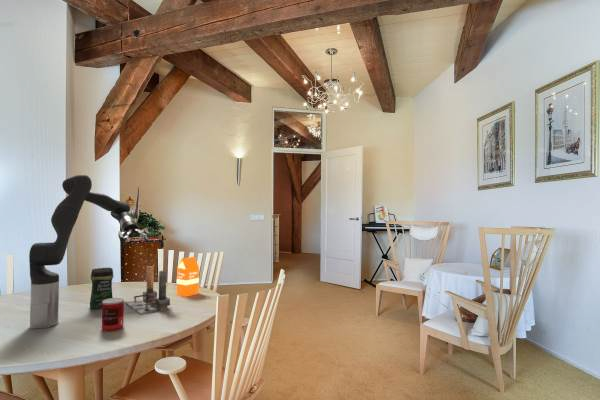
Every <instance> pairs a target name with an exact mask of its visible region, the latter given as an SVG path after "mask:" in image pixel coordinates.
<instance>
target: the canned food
mask: <svg viewBox="0 0 600 400" xmlns="http://www.w3.org/2000/svg"><path fill="white" fill-rule="evenodd" d="M124 301H125V300H124V298H121V297H113V298H110V299H106V300H103V301H102V308H101V330H102V331H103V332H115V331H119V330H121V329H122V328H123V327H124V323H125V322H124V318H125V317H124V316H125V313H124V311H125V310H124V309H125V303H124Z"/></svg>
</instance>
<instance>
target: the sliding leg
mask: <svg viewBox="0 0 600 400" xmlns="http://www.w3.org/2000/svg"><path fill="white" fill-rule="evenodd" d="M154 268H155V267H154V266H153V265H148V266H147V265H146V291H142V294H139V295H134V296H133V300H134V302H136V299H137V298H140V297H142V299H143V298H144V299H145V300H148V298H149V297H155V298H158V292H157V291H156V290H154V275H155V274H154Z"/></svg>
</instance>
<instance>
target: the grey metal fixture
mask: <svg viewBox="0 0 600 400" xmlns="http://www.w3.org/2000/svg"><path fill="white" fill-rule="evenodd" d="M144 300H145V299H144V298H143V297H142V300H141V299H140V298H136V302H134V299H130V300H124V305H126V306H128V307H130V308H131V309H132V310H133V311H135V312H136V313H137V314H139V315H146V314H150V313H151V314H152V313H156V312H157V310H159V311H166V310H168V307H169V306H170V305H171V298H169V297H168V296H167V270H159V271H158V297H157V298H155V297H149V298H148V300H145V302H144ZM157 308H158V309H157Z"/></svg>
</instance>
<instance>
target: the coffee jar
mask: <svg viewBox="0 0 600 400" xmlns="http://www.w3.org/2000/svg"><path fill="white" fill-rule="evenodd" d="M113 279H114V270H113V268H112V267H98V268H97V267H96V268H93V269H91V273H90V280H91V284H92V285H91V292H90V293H91V294H90V298H89V308H91V309H93V310H97V309H102V301H103V300H106V299H110V298H114V297H113V290H112V289H113V287H112V285H113V283H112V282H113Z"/></svg>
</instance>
